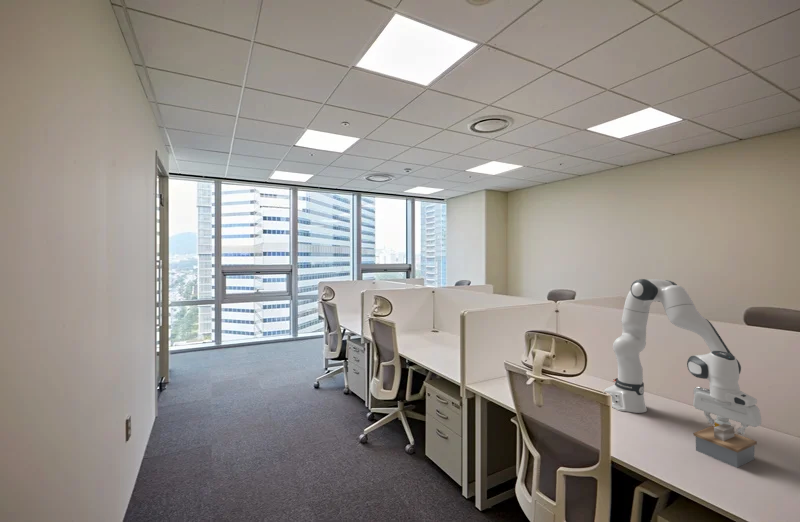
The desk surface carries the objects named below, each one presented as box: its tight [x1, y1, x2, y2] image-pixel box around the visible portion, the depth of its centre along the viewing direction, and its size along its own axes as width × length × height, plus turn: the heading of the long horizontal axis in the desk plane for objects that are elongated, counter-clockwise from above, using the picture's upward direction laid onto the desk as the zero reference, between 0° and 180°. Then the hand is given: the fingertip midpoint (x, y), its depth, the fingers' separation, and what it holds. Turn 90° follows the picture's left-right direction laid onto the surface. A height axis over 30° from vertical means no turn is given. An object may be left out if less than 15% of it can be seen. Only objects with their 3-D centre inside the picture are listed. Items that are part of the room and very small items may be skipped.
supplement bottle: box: [714, 415, 732, 427], centre depth 152 cm, size 5×5×10 cm
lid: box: [693, 423, 758, 453], centre depth 138 cm, size 14×14×5 cm
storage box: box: [695, 436, 756, 469], centre depth 138 cm, size 13×13×7 cm
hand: (725, 428), depth 137 cm, fingers open, 8 cm apart
